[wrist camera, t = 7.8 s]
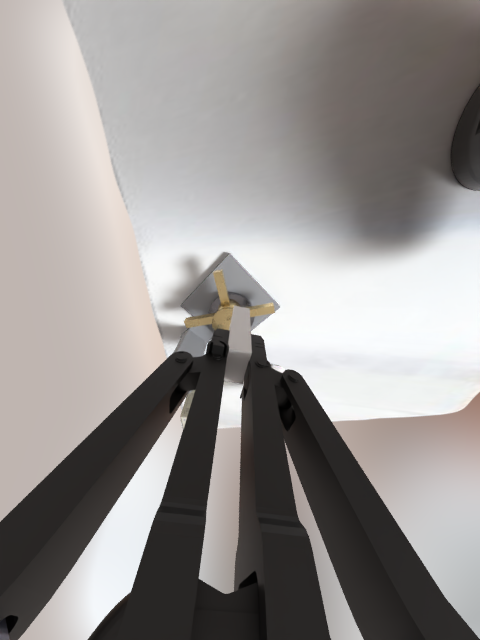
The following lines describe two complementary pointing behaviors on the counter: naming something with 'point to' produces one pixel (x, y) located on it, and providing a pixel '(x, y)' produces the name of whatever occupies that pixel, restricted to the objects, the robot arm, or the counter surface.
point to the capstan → (226, 307)
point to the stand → (207, 293)
